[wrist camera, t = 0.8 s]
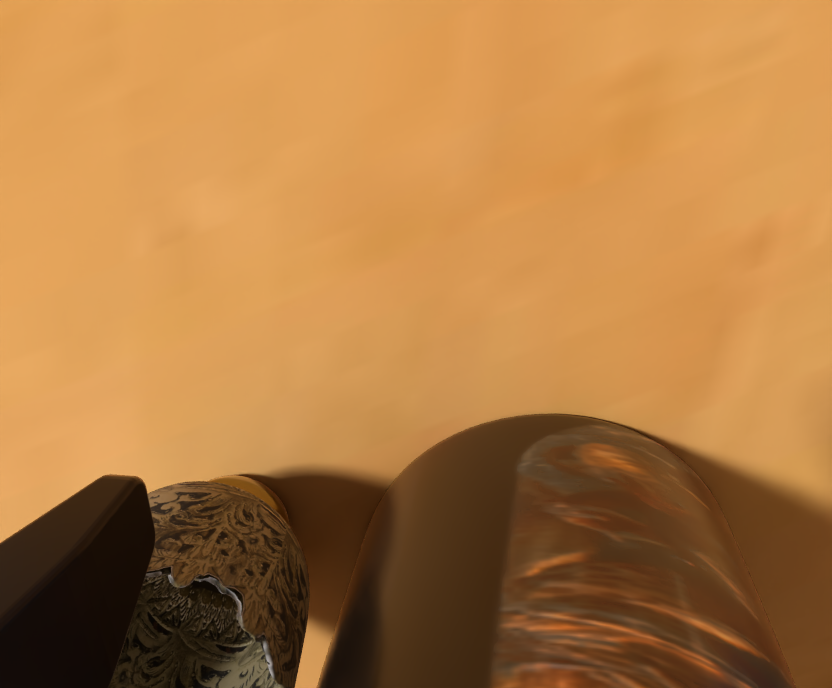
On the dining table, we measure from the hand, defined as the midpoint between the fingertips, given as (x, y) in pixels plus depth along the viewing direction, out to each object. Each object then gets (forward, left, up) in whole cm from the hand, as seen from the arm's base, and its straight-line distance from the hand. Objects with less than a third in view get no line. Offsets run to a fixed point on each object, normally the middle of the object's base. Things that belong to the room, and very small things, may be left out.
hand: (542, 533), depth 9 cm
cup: (-10, +9, -14) cm, 20 cm away
